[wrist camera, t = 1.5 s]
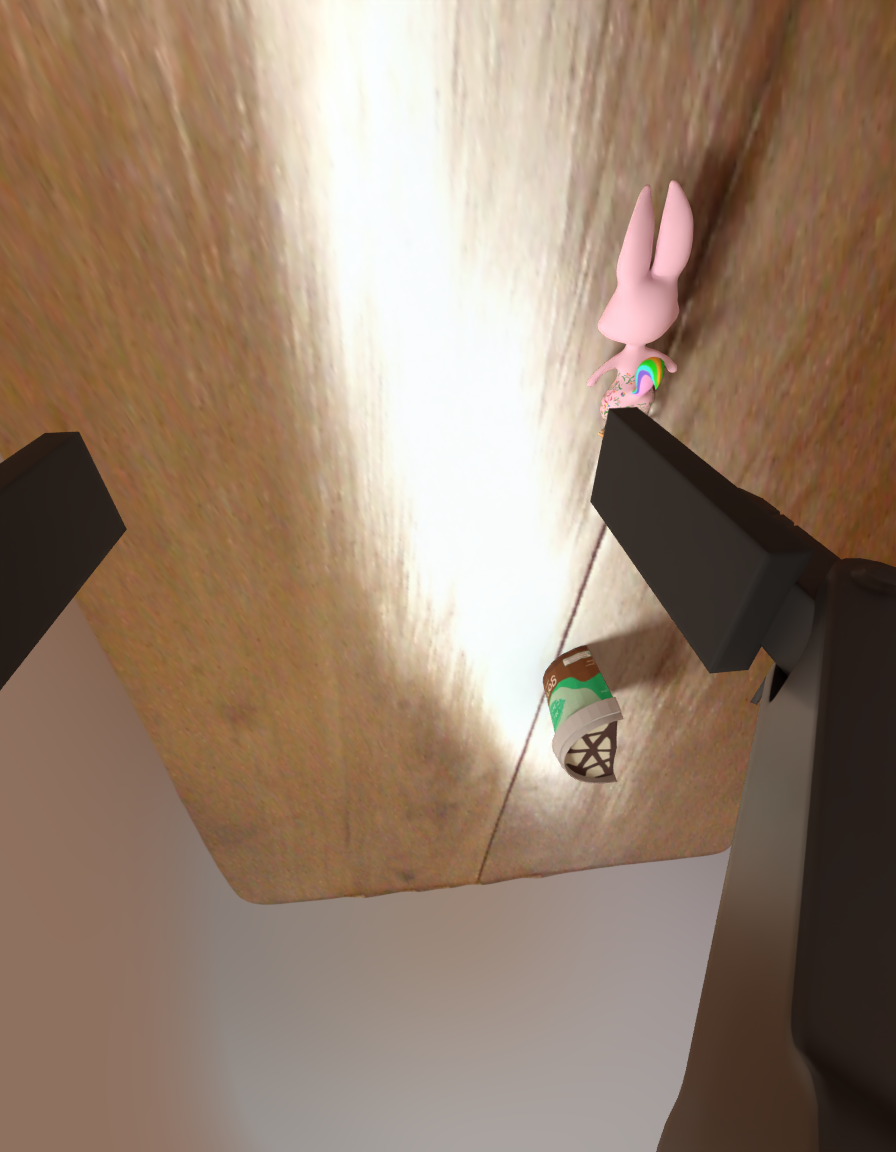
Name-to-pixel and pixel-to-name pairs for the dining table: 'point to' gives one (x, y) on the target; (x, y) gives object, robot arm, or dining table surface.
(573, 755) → the food container
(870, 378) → the dining table surface
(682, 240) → the rabbit figure
